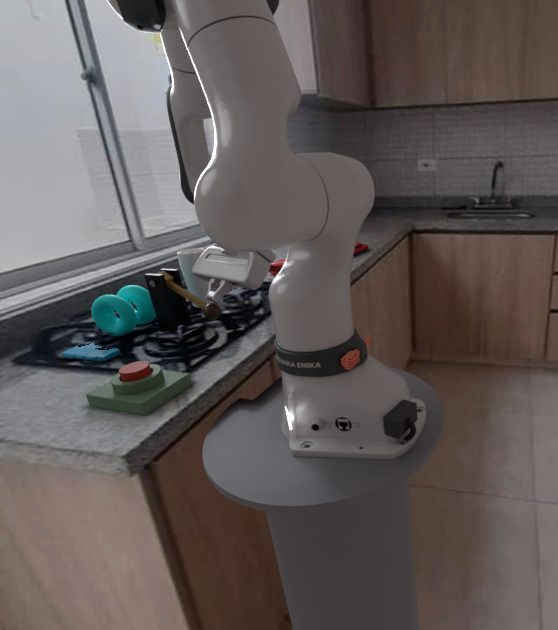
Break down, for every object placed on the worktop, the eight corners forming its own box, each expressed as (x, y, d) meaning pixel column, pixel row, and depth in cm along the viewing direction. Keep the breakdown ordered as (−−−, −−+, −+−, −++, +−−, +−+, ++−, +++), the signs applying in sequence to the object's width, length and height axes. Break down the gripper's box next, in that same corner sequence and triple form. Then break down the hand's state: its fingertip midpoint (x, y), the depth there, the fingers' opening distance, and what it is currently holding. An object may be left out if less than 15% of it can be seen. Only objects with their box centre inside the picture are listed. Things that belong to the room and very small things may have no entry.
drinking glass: (213, 308, 116) (200, 252, 111) (186, 310, 116) (172, 254, 110) (220, 300, 123) (208, 247, 117) (195, 302, 122) (182, 248, 116)
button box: (192, 383, 78) (187, 363, 77) (145, 415, 70) (137, 393, 68) (141, 376, 82) (135, 357, 81) (89, 406, 73) (81, 384, 72)
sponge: (92, 362, 87) (120, 347, 91) (58, 353, 92) (87, 339, 96) (95, 368, 87) (123, 353, 92) (62, 359, 92) (90, 345, 97)
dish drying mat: (369, 249, 173) (369, 240, 172) (300, 278, 139) (298, 267, 138) (337, 247, 180) (336, 238, 178) (263, 274, 146) (261, 263, 144)
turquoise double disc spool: (96, 338, 101) (81, 297, 97) (128, 321, 110) (116, 283, 106) (135, 338, 99) (122, 297, 96) (165, 321, 109) (154, 283, 105)
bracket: (206, 328, 103) (192, 267, 98) (176, 344, 95) (158, 278, 90) (179, 325, 106) (163, 265, 100) (148, 341, 98) (129, 277, 92)
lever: (222, 318, 97) (226, 306, 96) (211, 325, 94) (215, 312, 92) (163, 280, 98) (166, 267, 97) (150, 285, 95) (152, 272, 93)
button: (157, 371, 76) (155, 362, 75) (135, 384, 72) (132, 374, 71) (138, 368, 77) (135, 359, 76) (115, 381, 73) (112, 371, 73)
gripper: (202, 234, 101) (172, 287, 97) (261, 241, 91) (230, 300, 86) (223, 249, 106) (195, 300, 102) (281, 257, 96) (253, 314, 92)
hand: (211, 300), depth 94 cm, fingers closed
